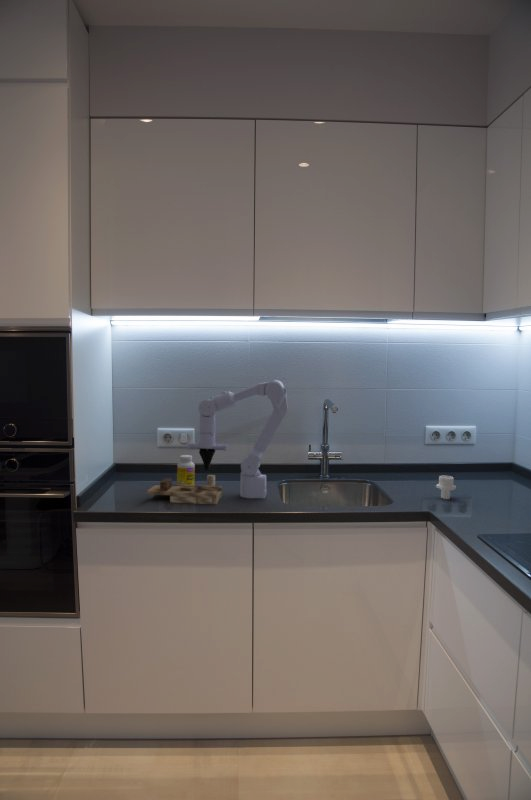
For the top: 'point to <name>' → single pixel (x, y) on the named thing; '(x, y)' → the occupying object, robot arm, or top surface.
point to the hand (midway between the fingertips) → (207, 469)
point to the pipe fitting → (446, 486)
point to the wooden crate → (198, 495)
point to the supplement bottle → (185, 471)
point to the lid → (169, 488)
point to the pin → (210, 480)
